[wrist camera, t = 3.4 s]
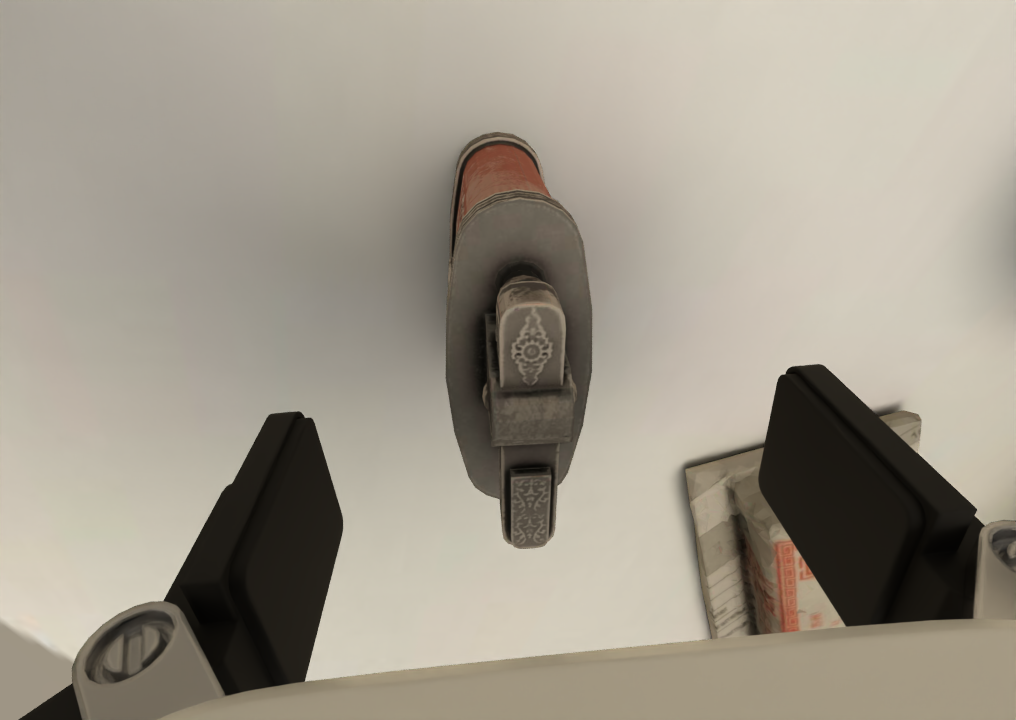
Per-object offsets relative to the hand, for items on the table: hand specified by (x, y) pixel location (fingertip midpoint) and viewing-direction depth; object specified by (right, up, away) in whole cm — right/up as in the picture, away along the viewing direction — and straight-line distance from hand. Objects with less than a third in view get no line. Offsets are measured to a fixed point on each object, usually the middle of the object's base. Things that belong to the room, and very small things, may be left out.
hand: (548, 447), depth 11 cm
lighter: (-1, +5, +8) cm, 10 cm away
